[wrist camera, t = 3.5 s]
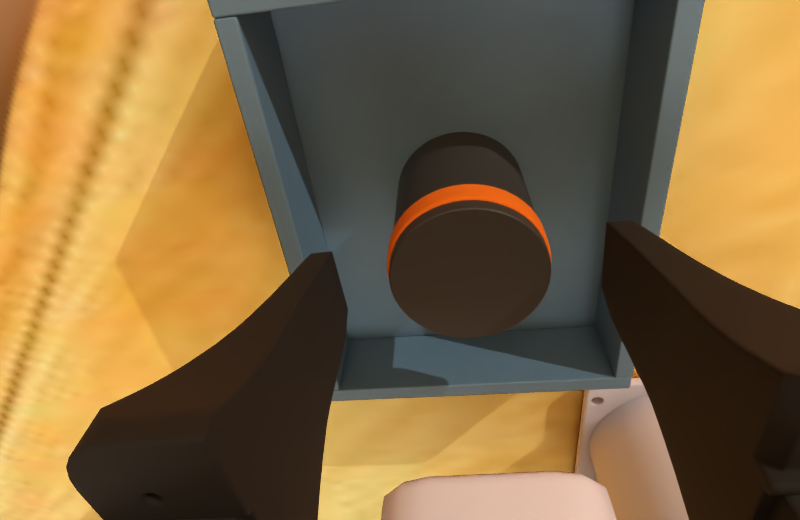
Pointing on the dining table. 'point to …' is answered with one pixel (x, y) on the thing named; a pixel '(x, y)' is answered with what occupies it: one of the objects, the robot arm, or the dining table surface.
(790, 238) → the dining table surface
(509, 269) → the dark brown cylinder
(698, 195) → the dining table surface
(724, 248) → the dining table surface
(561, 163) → the bin
